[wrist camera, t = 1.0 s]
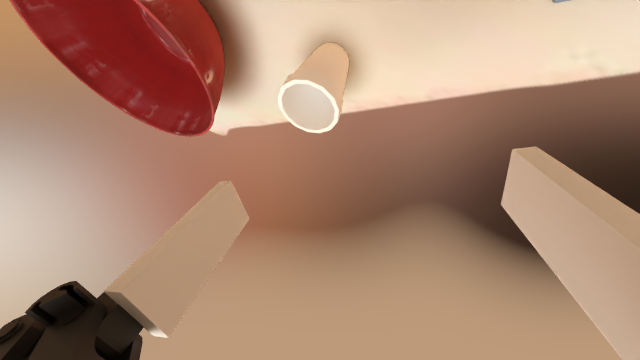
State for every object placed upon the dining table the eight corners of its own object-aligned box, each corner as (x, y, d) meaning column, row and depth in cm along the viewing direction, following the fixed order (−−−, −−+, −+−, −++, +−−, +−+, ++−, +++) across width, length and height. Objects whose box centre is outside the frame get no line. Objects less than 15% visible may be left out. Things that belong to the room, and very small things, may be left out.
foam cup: (363, 80, 41) (346, 130, 34) (318, 89, 45) (296, 135, 39) (348, 24, 34) (324, 72, 28) (297, 40, 39) (266, 85, 32)
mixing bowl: (197, -114, 27) (92, -89, 19) (274, 94, 50) (241, 145, 42) (57, -73, 35) (-56, -44, 28) (178, 89, 58) (135, 131, 50)
